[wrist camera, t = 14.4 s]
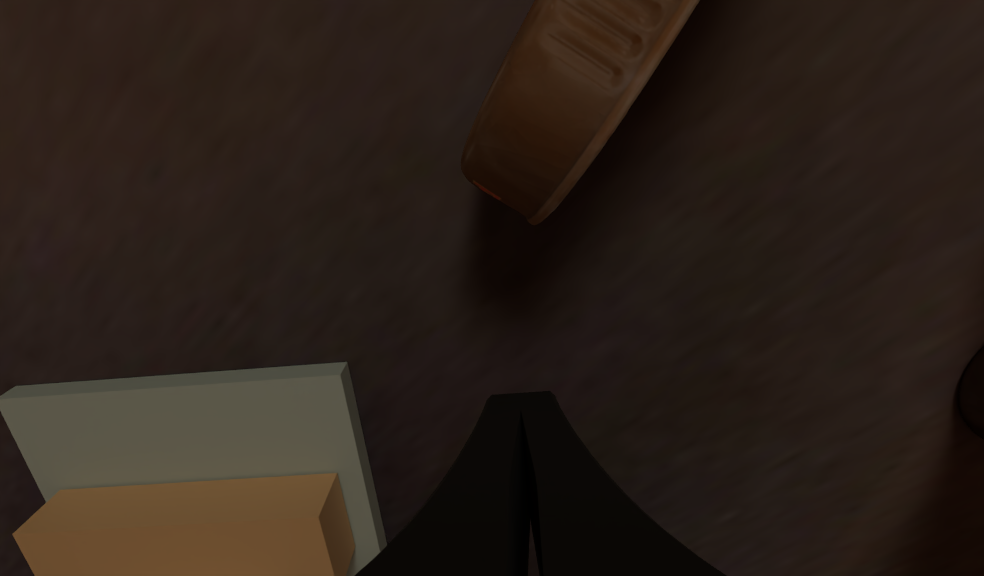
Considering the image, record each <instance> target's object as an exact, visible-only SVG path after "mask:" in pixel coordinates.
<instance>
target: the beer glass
mask: <svg viewBox="0 0 984 576" xmlns="http://www.w3.org/2000/svg"><path fill="white" fill-rule="evenodd" d="M958 402H959V409H960V413H961V416H962V418H963V420H964V422H965V423H966V425H967V426H968V427H969V428H970V429H971V430H972V431H973V432H974V433H975V434H976V435H977V436H979V437H980V438H982V439H983V440H984V347H983V348H982V349H981V350H980V351H979V353H978V354H977V355H976V356H975V358H974V359H973V360H972V362H971V363H970V365H969V366H968V368H967V370H966V372H965V374H964V376H963V379H962V381H961V385H960V389H959V397H958Z"/></svg>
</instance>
